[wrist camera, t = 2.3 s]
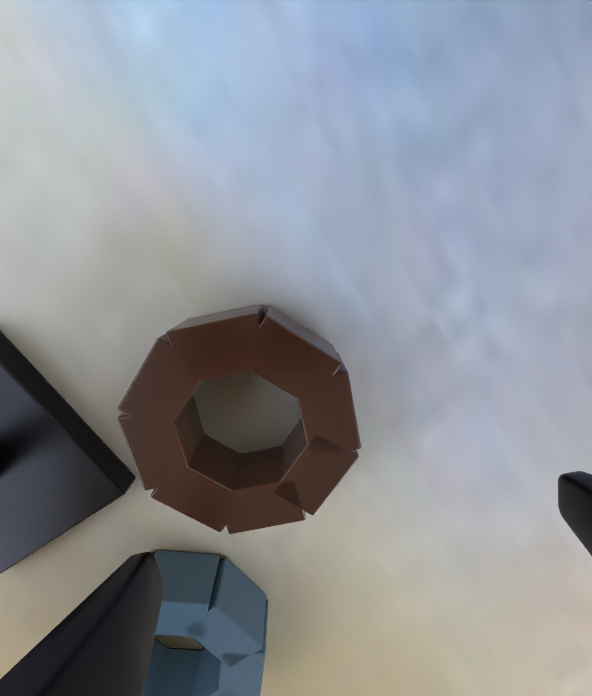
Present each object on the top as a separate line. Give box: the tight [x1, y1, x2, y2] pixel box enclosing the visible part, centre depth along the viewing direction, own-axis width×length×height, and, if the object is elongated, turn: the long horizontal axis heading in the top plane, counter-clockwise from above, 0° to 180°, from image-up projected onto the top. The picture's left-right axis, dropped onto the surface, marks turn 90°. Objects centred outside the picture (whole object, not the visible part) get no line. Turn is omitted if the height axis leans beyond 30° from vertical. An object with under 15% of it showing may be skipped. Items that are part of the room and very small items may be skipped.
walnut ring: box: [118, 304, 361, 534], centre depth 14 cm, size 9×9×3 cm
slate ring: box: [141, 550, 268, 696], centre depth 17 cm, size 9×9×3 cm
